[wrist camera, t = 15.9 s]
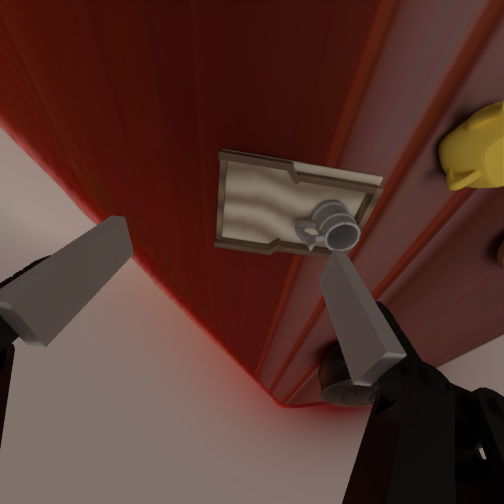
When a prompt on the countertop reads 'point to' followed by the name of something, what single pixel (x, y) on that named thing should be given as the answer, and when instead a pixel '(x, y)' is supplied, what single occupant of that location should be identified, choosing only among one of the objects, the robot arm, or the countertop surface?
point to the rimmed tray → (283, 201)
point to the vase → (501, 254)
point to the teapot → (475, 150)
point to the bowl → (342, 382)
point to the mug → (330, 227)
